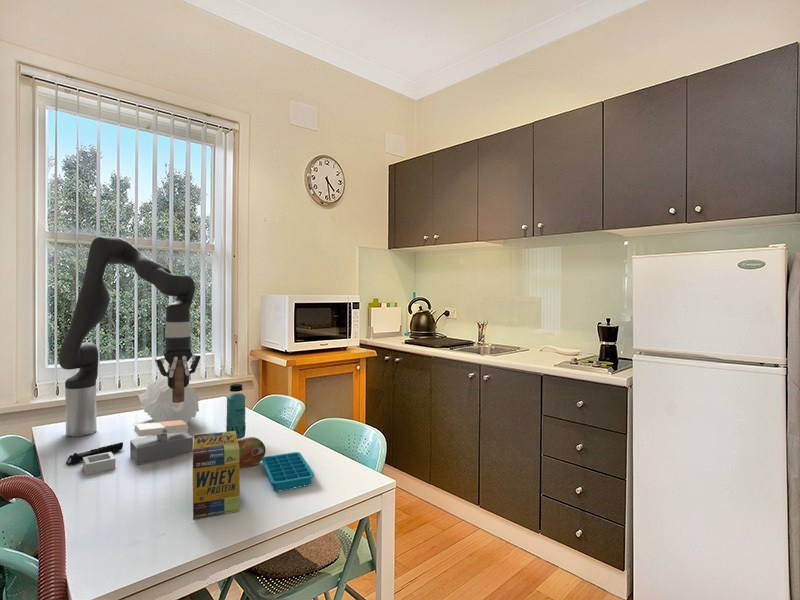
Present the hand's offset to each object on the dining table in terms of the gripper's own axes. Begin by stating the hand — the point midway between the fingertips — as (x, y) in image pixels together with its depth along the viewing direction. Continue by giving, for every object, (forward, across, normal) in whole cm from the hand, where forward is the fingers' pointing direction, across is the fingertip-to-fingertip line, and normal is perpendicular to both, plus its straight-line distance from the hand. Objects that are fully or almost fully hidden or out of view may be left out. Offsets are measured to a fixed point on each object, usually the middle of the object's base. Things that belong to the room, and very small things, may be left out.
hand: (178, 387), depth 148 cm
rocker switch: (+12, +5, 0) cm, 13 cm away
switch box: (+21, +5, 0) cm, 22 cm away
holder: (+21, +22, 0) cm, 31 cm away
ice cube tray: (+21, -18, +41) cm, 50 cm away
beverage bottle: (+21, -18, +3) cm, 28 cm away
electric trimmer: (+22, +22, -11) cm, 32 cm away
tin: (+21, -10, +26) cm, 35 cm away
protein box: (+21, +3, +44) cm, 49 cm away
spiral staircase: (+21, -6, -35) cm, 41 cm away
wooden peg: (+5, 0, 0) cm, 5 cm away
